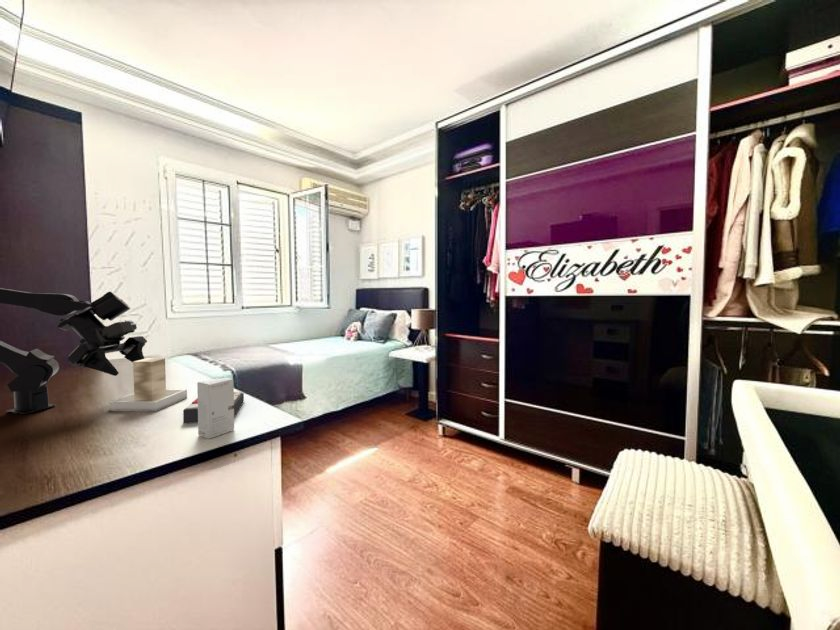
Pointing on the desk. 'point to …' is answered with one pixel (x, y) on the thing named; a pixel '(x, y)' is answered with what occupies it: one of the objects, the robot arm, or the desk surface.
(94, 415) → the desk surface
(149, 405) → the white tray
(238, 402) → the calculator
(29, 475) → the desk surface
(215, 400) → the skincare box
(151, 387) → the birch block
